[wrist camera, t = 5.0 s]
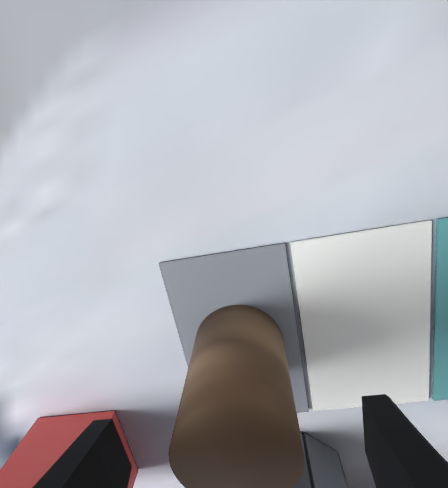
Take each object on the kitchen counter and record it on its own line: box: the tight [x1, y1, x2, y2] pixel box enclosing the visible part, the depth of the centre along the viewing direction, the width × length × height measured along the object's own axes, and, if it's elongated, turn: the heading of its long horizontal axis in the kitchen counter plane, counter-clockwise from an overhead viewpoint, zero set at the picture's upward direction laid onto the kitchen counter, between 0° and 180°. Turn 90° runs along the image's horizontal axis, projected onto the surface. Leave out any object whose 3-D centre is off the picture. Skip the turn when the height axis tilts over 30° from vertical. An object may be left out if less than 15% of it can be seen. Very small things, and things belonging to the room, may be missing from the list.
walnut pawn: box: [169, 305, 305, 488], centre depth 11 cm, size 4×4×5 cm
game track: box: [159, 217, 448, 413], centre depth 13 cm, size 15×8×1 cm, turn 101°
